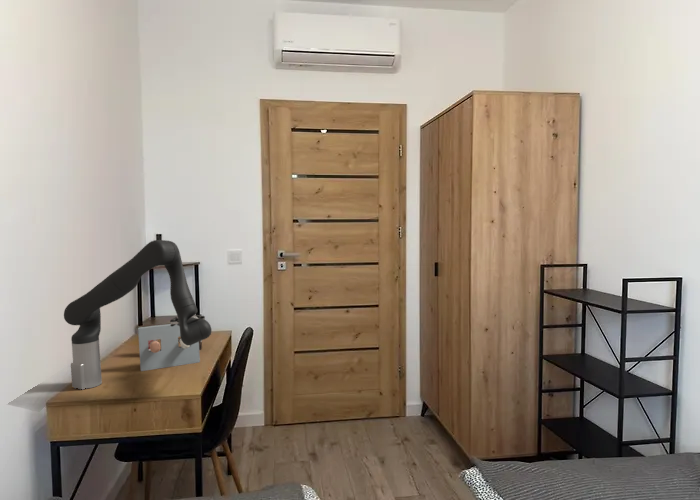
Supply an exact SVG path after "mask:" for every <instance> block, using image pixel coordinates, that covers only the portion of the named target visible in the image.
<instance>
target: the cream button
mask: <svg viewBox="0 0 700 500" xmlns="http://www.w3.org/2000/svg"><path fill="white" fill-rule="evenodd" d="M178 344H179V346H180V347H182V348H184V349H186V348H188V347H189V346H190V345H185V344H184V343H183V342H182V340H181V337H180V338H179V339H178Z"/></svg>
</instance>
